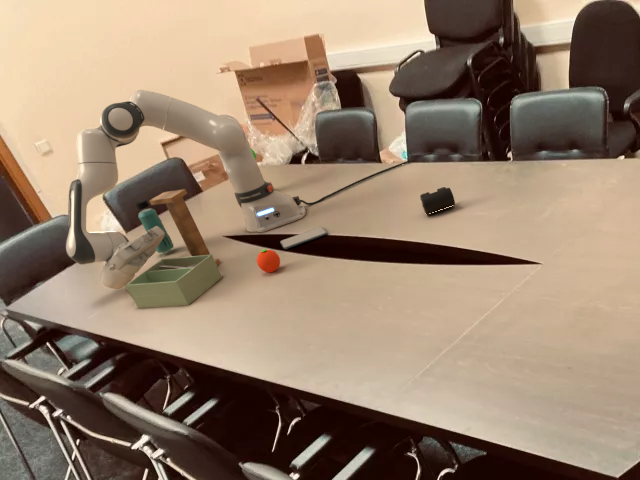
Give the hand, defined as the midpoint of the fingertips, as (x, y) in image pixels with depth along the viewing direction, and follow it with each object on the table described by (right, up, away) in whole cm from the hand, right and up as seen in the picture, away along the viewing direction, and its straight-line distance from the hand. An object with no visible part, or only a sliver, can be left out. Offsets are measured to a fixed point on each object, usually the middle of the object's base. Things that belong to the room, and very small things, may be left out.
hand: (148, 234), depth 221 cm
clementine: (+38, -11, +3) cm, 39 cm away
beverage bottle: (-13, +1, +42) cm, 44 cm away
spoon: (+8, -10, +5) cm, 14 cm away
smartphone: (+43, +2, +20) cm, 47 cm away
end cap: (+89, +10, +14) cm, 91 cm away
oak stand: (+10, -8, +19) cm, 22 cm away
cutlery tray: (+8, -17, +5) cm, 20 cm away
